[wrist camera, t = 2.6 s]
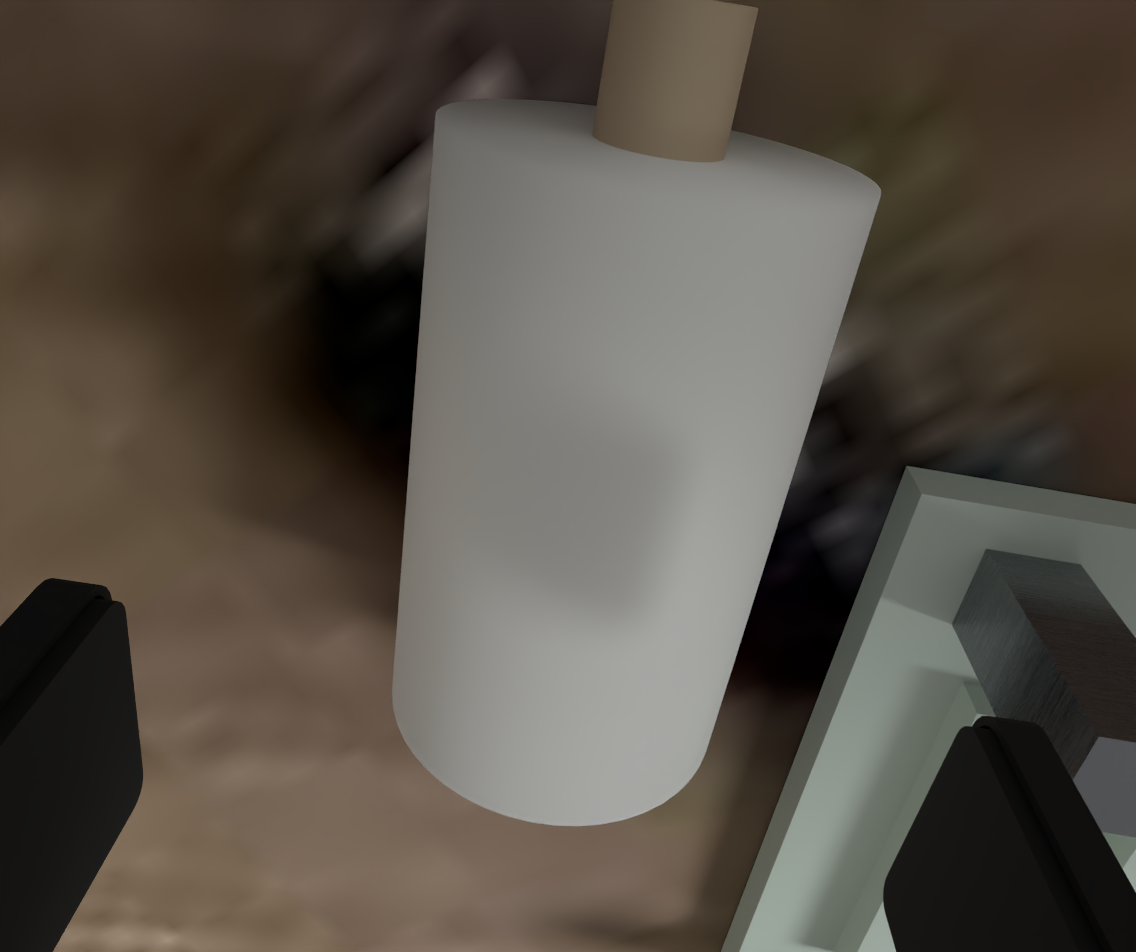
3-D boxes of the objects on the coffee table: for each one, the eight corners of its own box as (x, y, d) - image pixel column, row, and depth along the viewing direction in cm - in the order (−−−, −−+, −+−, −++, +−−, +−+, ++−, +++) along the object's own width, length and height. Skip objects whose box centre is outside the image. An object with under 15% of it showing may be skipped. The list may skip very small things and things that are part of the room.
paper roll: (877, 25, 15) (996, 56, 10) (687, 686, 23) (691, 927, 17) (494, -42, 16) (387, -51, 10) (427, 638, 23) (344, 860, 17)
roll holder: (1410, 549, 20) (1724, 786, 14) (1049, 1044, 29) (1149, 1307, 23) (906, 466, 19) (1017, 670, 14) (706, 989, 29) (722, 1241, 23)
